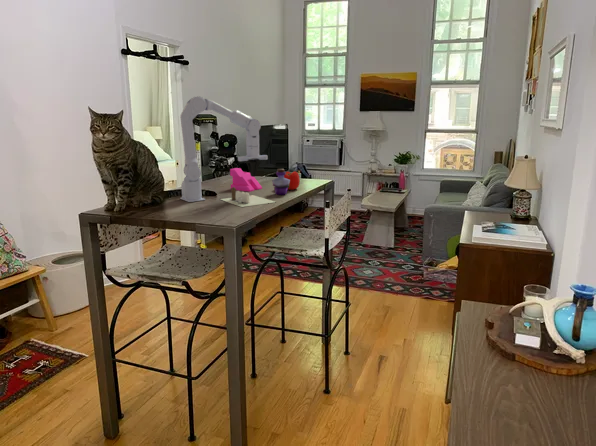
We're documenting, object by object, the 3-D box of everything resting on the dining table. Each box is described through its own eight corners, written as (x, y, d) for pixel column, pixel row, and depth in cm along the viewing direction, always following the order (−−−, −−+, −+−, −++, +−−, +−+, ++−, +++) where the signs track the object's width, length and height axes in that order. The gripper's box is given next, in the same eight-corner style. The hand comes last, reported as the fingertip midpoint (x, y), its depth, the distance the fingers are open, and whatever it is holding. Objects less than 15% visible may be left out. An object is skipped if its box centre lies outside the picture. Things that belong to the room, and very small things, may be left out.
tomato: (301, 187, 232) (301, 170, 229) (295, 191, 220) (295, 173, 218) (281, 186, 234) (281, 169, 232) (275, 190, 223) (274, 172, 221)
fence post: (230, 200, 198) (230, 187, 196) (234, 199, 199) (234, 186, 198) (232, 201, 196) (232, 187, 195) (236, 200, 198) (236, 187, 196)
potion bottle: (293, 194, 214) (293, 168, 211) (281, 196, 208) (281, 170, 205) (280, 191, 220) (280, 167, 217) (268, 194, 213) (267, 169, 210)
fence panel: (235, 200, 196) (235, 190, 195) (237, 199, 197) (237, 190, 196) (247, 203, 191) (247, 193, 190) (249, 202, 191) (249, 192, 190)
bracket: (230, 189, 225) (230, 169, 223) (243, 186, 234) (242, 166, 231) (250, 191, 219) (249, 170, 217) (262, 188, 228) (261, 168, 226)
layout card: (220, 199, 199) (220, 198, 199) (253, 195, 209) (253, 194, 209) (242, 207, 185) (242, 206, 185) (276, 202, 195) (276, 201, 194)
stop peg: (237, 204, 190) (237, 197, 190) (240, 203, 191) (240, 197, 191) (239, 204, 189) (239, 198, 188) (242, 204, 190) (242, 197, 189)
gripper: (261, 144, 209) (261, 174, 212) (234, 146, 200) (234, 176, 204) (270, 145, 203) (270, 175, 207) (242, 147, 195) (242, 178, 198)
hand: (253, 176), depth 205 cm, fingers closed
